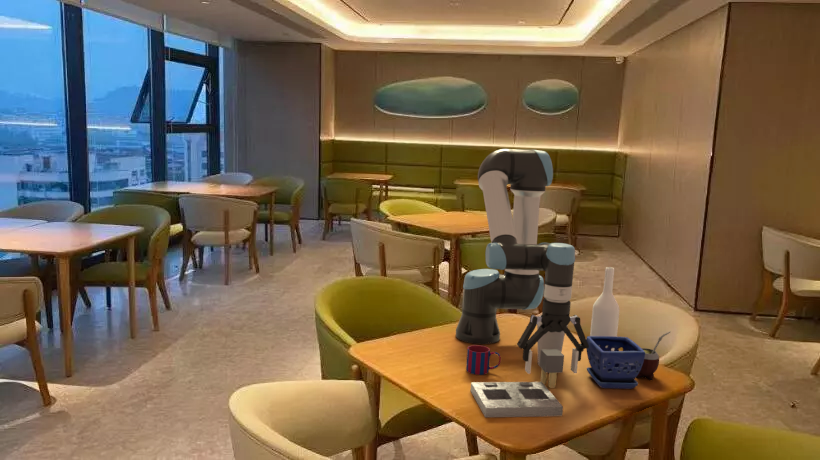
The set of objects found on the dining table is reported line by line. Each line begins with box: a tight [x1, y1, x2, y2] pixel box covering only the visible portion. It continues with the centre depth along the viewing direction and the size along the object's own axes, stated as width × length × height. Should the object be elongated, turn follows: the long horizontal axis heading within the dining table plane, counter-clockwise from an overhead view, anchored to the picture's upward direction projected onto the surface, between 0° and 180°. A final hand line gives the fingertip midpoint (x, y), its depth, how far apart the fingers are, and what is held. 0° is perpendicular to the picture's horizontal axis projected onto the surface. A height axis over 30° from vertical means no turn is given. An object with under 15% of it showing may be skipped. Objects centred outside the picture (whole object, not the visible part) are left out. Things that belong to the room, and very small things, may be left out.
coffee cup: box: [536, 314, 569, 367], centre depth 196 cm, size 10×10×15 cm
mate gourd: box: [635, 331, 671, 381], centre depth 190 cm, size 8×8×15 cm
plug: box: [539, 349, 565, 389], centre depth 181 cm, size 5×5×10 cm
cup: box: [465, 344, 502, 376], centre depth 189 cm, size 7×10×7 cm
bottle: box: [589, 266, 620, 351], centre depth 202 cm, size 8×8×30 cm
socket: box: [470, 381, 564, 418], centre depth 168 cm, size 16×20×3 cm
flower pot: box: [586, 335, 645, 390], centre depth 185 cm, size 13×13×12 cm
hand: (550, 371), depth 182 cm, fingers open, 13 cm apart
